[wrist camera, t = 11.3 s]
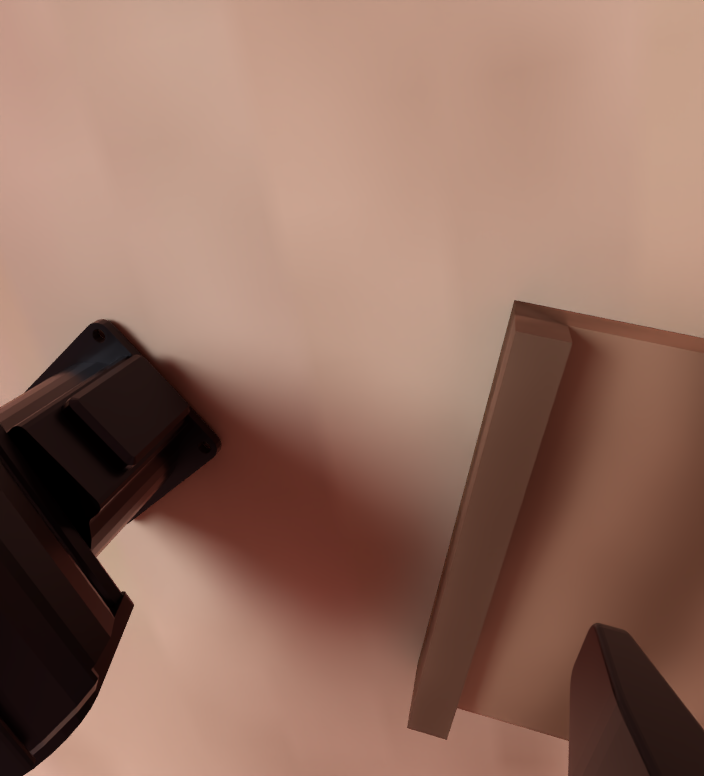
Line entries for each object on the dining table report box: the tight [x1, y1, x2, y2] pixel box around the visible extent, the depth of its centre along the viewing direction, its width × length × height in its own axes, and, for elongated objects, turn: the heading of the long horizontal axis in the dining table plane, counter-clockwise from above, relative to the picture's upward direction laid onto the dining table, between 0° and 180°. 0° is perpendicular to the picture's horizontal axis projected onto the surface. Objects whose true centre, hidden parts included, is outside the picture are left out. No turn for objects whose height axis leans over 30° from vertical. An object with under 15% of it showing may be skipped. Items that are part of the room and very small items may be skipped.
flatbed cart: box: [407, 300, 704, 741], centre depth 21 cm, size 13×16×3 cm
